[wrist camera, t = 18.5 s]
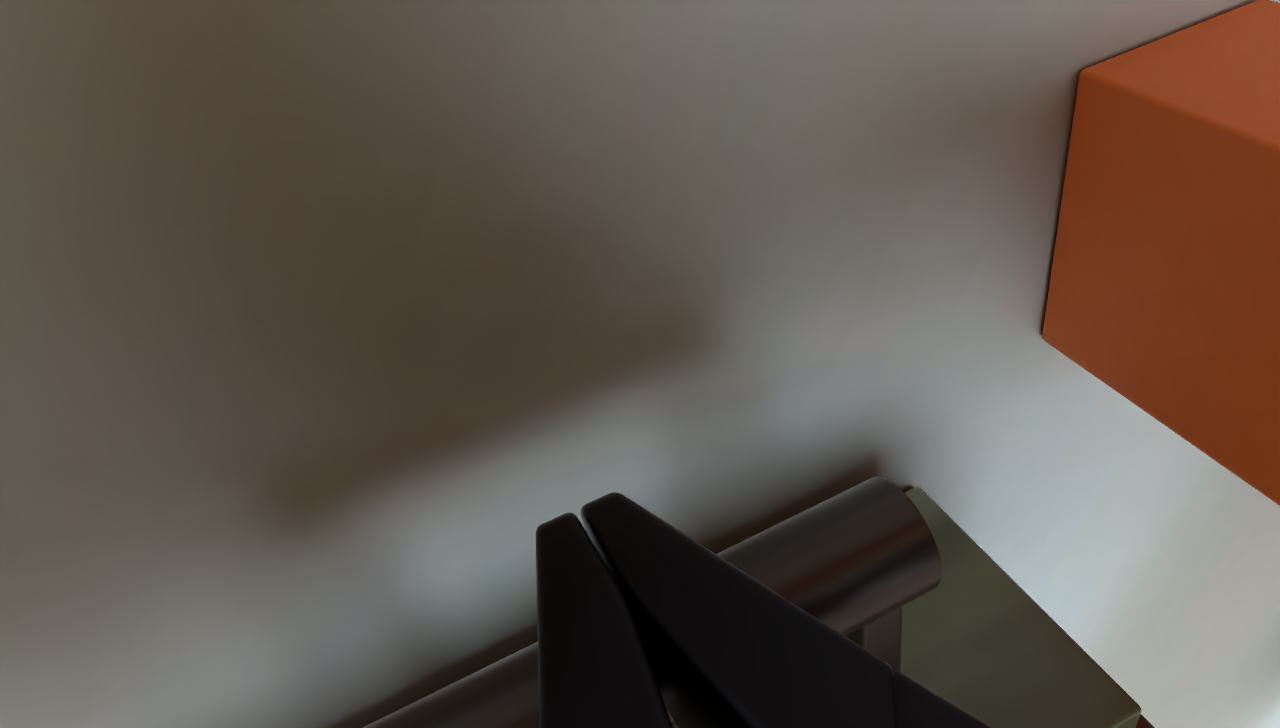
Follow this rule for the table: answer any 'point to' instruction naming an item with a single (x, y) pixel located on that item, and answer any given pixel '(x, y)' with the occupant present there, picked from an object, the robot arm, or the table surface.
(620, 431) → the table surface
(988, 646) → the drawer
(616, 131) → the table surface
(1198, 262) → the orange rectangular block
